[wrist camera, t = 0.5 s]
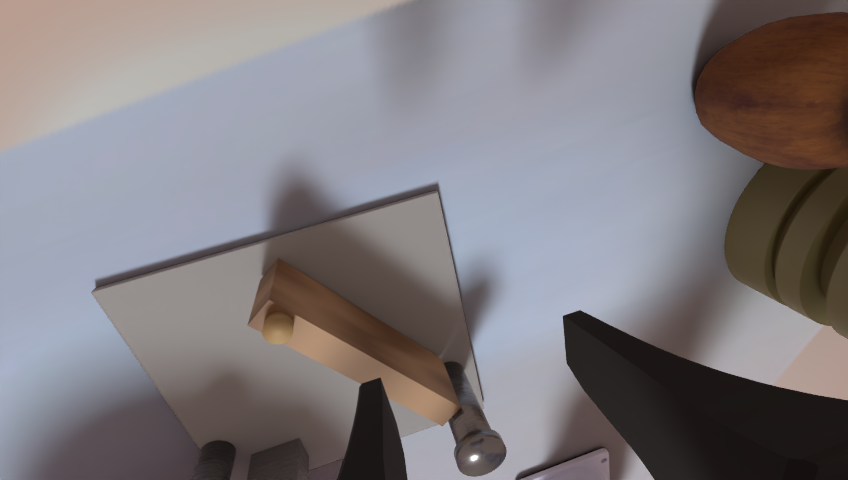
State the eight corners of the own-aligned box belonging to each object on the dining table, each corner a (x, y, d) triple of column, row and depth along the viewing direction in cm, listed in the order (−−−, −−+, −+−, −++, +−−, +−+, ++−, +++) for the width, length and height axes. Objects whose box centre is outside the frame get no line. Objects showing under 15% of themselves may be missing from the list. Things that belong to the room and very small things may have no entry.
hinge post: (469, 377, 27) (509, 465, 21) (431, 390, 27) (462, 482, 21) (462, 348, 26) (502, 432, 20) (423, 361, 26) (453, 449, 20)
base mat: (482, 403, 29) (484, 408, 28) (233, 491, 27) (232, 497, 26) (435, 190, 22) (437, 192, 21) (95, 288, 20) (91, 292, 19)
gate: (441, 358, 25) (464, 416, 21) (425, 375, 26) (445, 435, 21) (278, 258, 20) (267, 307, 16) (260, 279, 21) (245, 334, 17)
